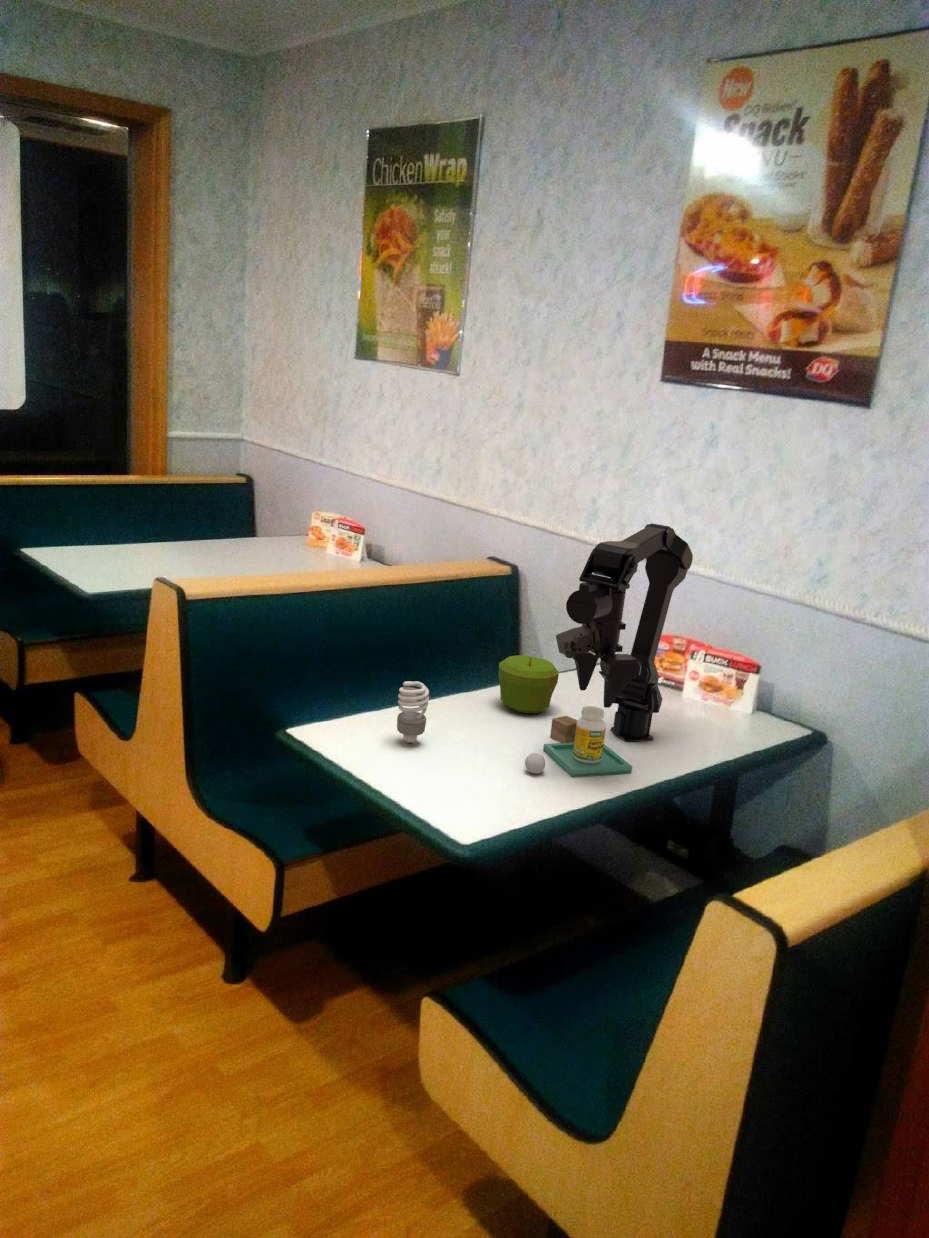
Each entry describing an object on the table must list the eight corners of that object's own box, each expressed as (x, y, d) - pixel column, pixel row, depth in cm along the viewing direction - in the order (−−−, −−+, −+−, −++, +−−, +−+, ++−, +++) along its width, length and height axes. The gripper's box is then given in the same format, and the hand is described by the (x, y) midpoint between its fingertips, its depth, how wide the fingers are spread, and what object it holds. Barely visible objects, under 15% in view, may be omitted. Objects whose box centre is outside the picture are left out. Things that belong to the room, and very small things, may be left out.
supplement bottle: (588, 751, 182) (594, 703, 180) (607, 762, 178) (614, 712, 175) (566, 755, 179) (572, 706, 177) (585, 766, 175) (591, 716, 172)
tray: (599, 747, 186) (600, 740, 186) (631, 773, 175) (632, 766, 175) (543, 750, 182) (543, 743, 181) (572, 777, 171) (572, 770, 170)
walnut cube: (564, 734, 191) (566, 715, 190) (579, 741, 189) (581, 721, 188) (549, 738, 189) (552, 718, 188) (564, 745, 186) (567, 725, 185)
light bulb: (430, 742, 181) (435, 681, 178) (416, 751, 176) (421, 688, 173) (403, 735, 183) (408, 674, 180) (388, 744, 178) (393, 682, 175)
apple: (483, 702, 205) (488, 651, 202) (527, 695, 212) (533, 646, 209) (520, 722, 195) (527, 669, 192) (565, 714, 202) (572, 663, 200)
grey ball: (538, 767, 174) (541, 749, 173) (547, 776, 170) (549, 757, 170) (520, 769, 172) (522, 750, 171) (529, 777, 169) (531, 758, 168)
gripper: (542, 601, 177) (532, 682, 181) (590, 629, 160) (578, 718, 164) (596, 602, 181) (585, 681, 185) (648, 629, 164) (635, 716, 168)
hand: (594, 698), depth 175 cm, fingers open, 9 cm apart
